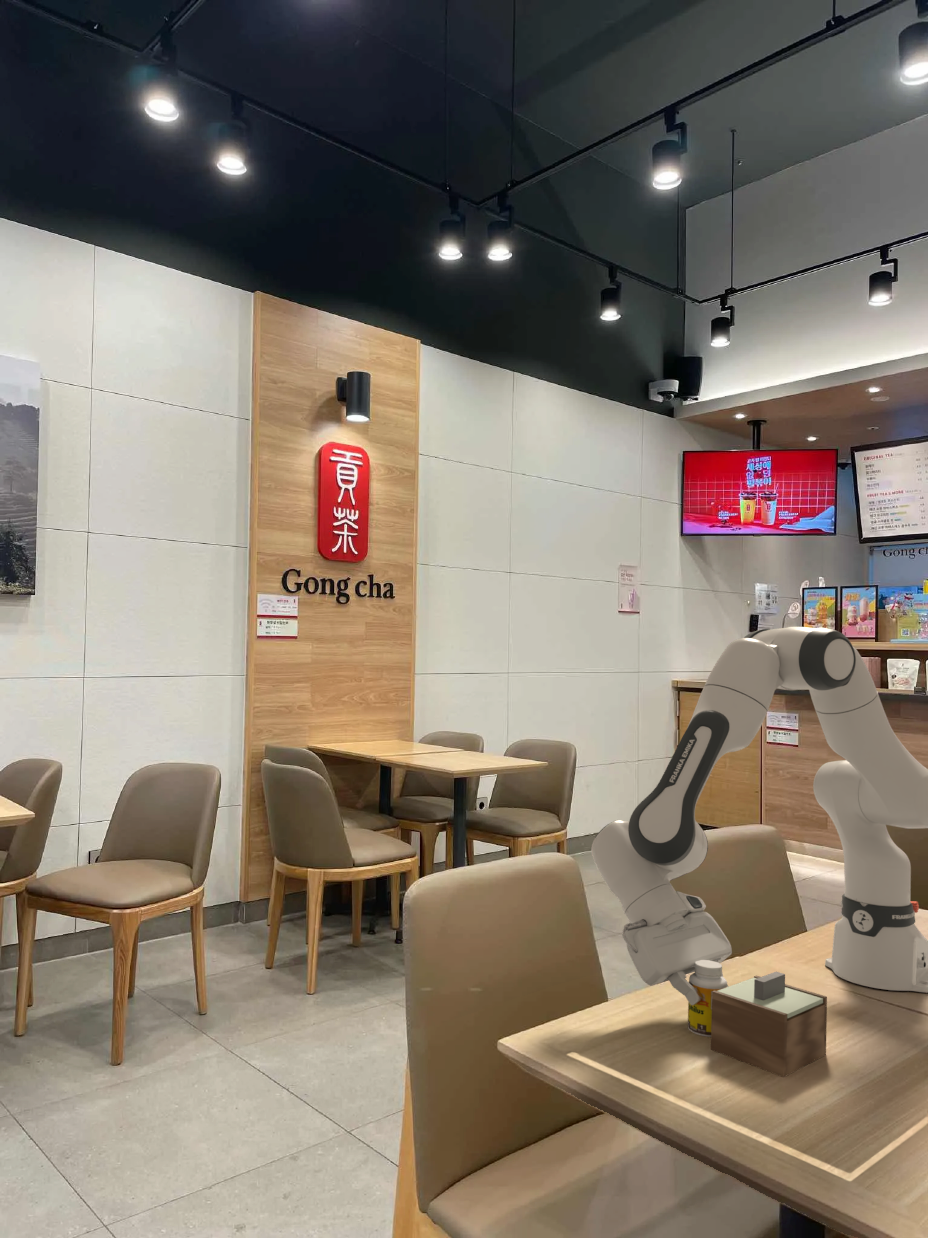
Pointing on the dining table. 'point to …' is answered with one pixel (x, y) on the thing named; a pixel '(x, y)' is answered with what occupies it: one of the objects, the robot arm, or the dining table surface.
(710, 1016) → the supplement bottle
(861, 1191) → the dining table surface
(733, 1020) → the walnut box
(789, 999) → the lid
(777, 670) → the robot arm
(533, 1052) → the dining table surface
